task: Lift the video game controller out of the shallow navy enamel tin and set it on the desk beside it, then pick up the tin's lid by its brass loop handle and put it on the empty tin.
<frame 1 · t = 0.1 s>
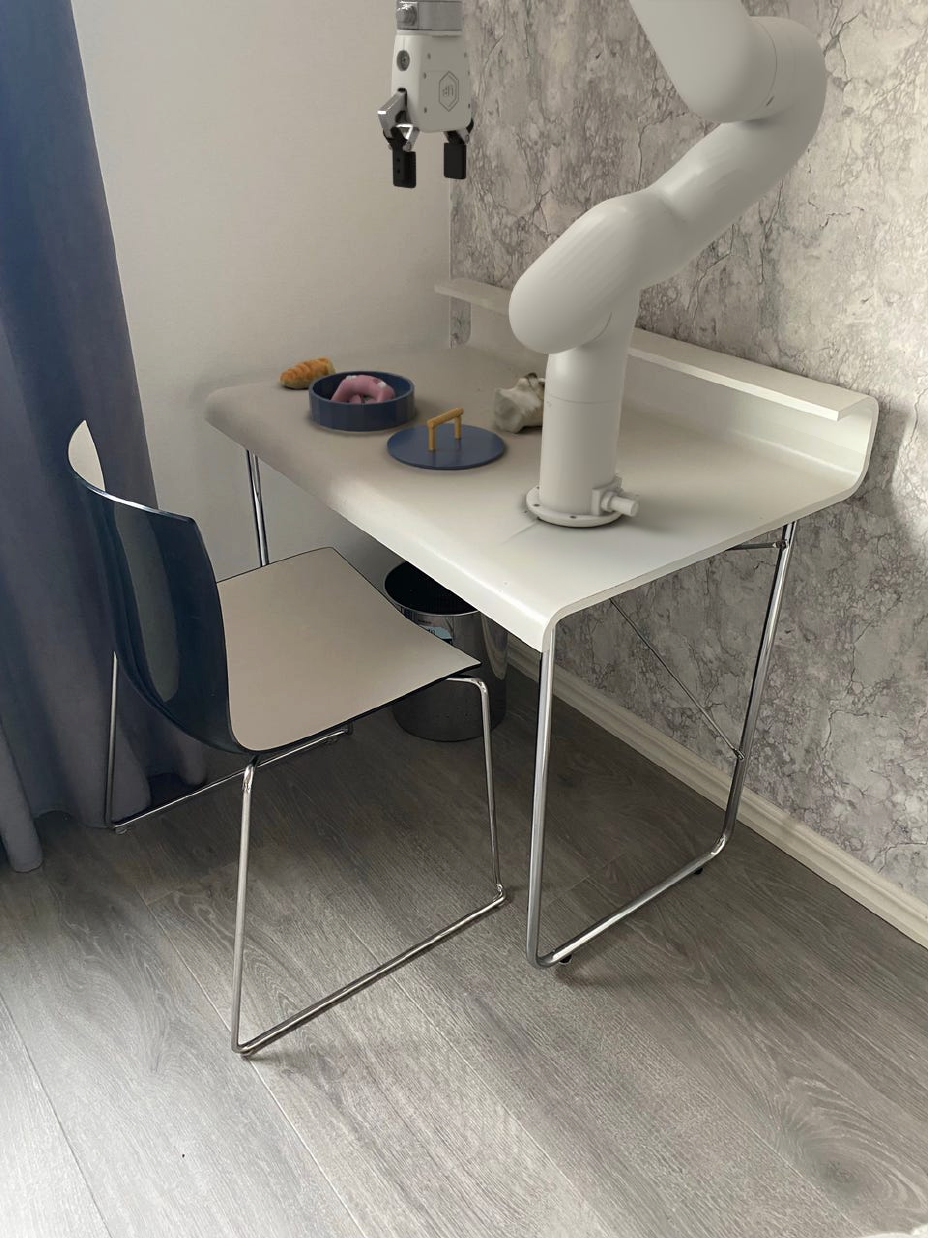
hand: (430, 182, 123), 37 cm above the table, tool pointing down, fingers open, 9 cm apart
tin: (362, 416, 157), on the table
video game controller: (362, 415, 157), resting on tin
pastry: (311, 383, 171), on the table
lid: (445, 446, 145), point 1 cm above the table
ceramic sculpture: (531, 427, 155), on the table
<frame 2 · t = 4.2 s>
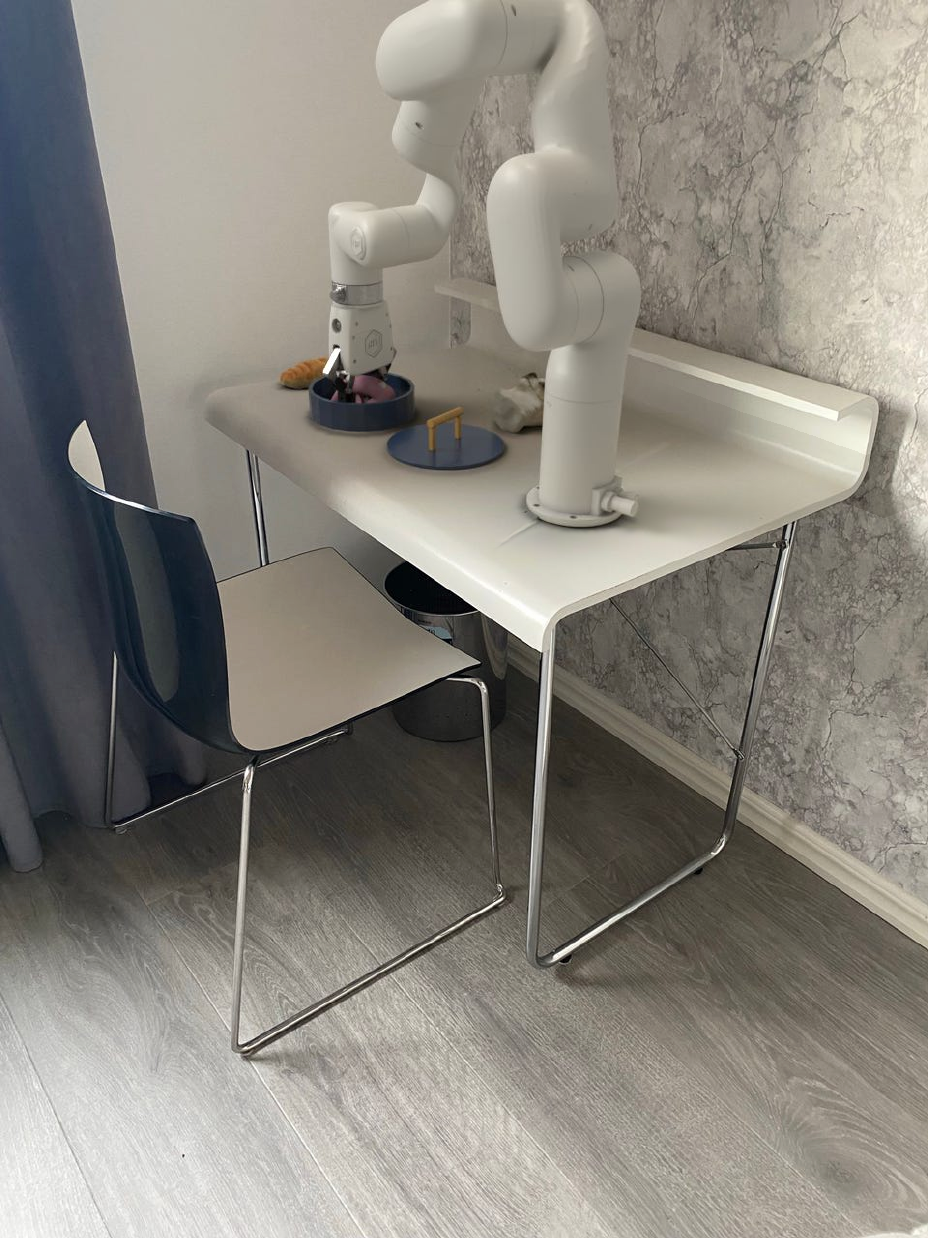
hand: (362, 408, 157), 1 cm above the table, tool pointing down, fingers closed on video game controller, 6 cm apart
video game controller: (362, 415, 157), resting on tin, touching gripper
everything else where it was.
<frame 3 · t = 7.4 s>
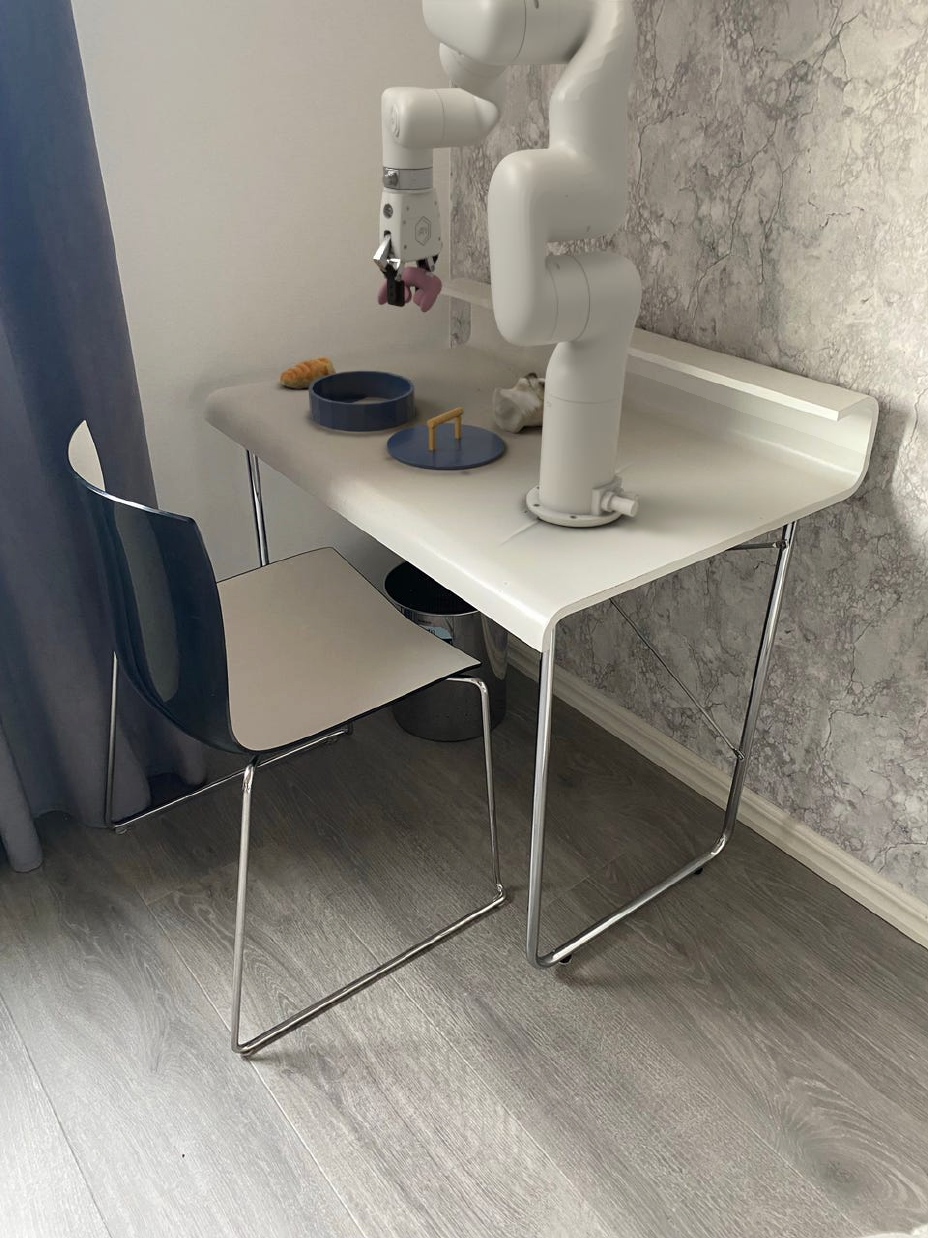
hand: (410, 300, 160), 15 cm above the table, tool pointing down, fingers closed on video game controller, 6 cm apart
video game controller: (410, 307, 160), point 14 cm above the table, touching gripper
everything else where it was.
when the fingers open (1 cm above the table, at t = 11.0 s): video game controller stays where it is, on the table.
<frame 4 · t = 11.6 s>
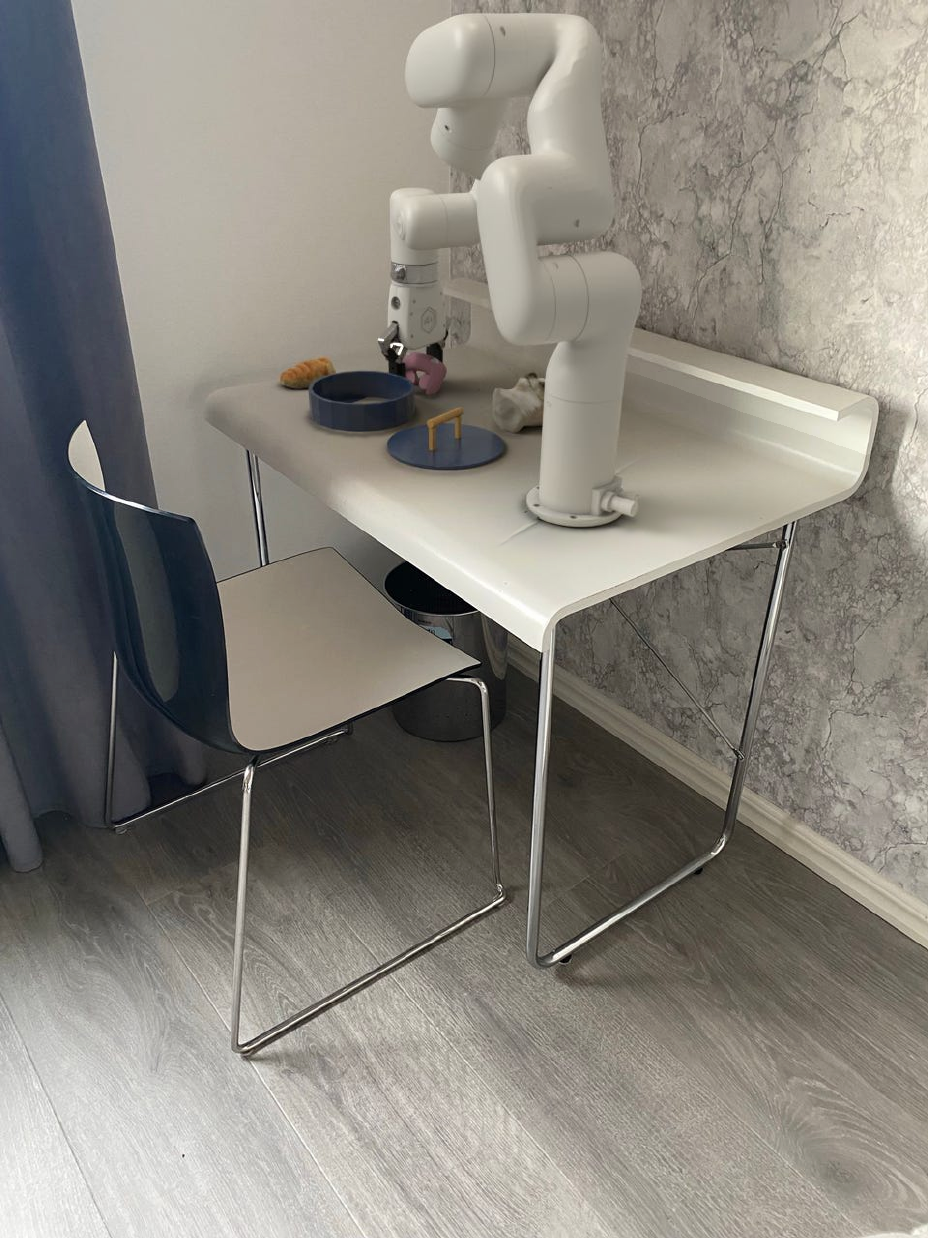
hand: (416, 377, 168), 2 cm above the table, tool pointing down, fingers open, 9 cm apart
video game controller: (416, 390, 169), on the table
everything else where it was.
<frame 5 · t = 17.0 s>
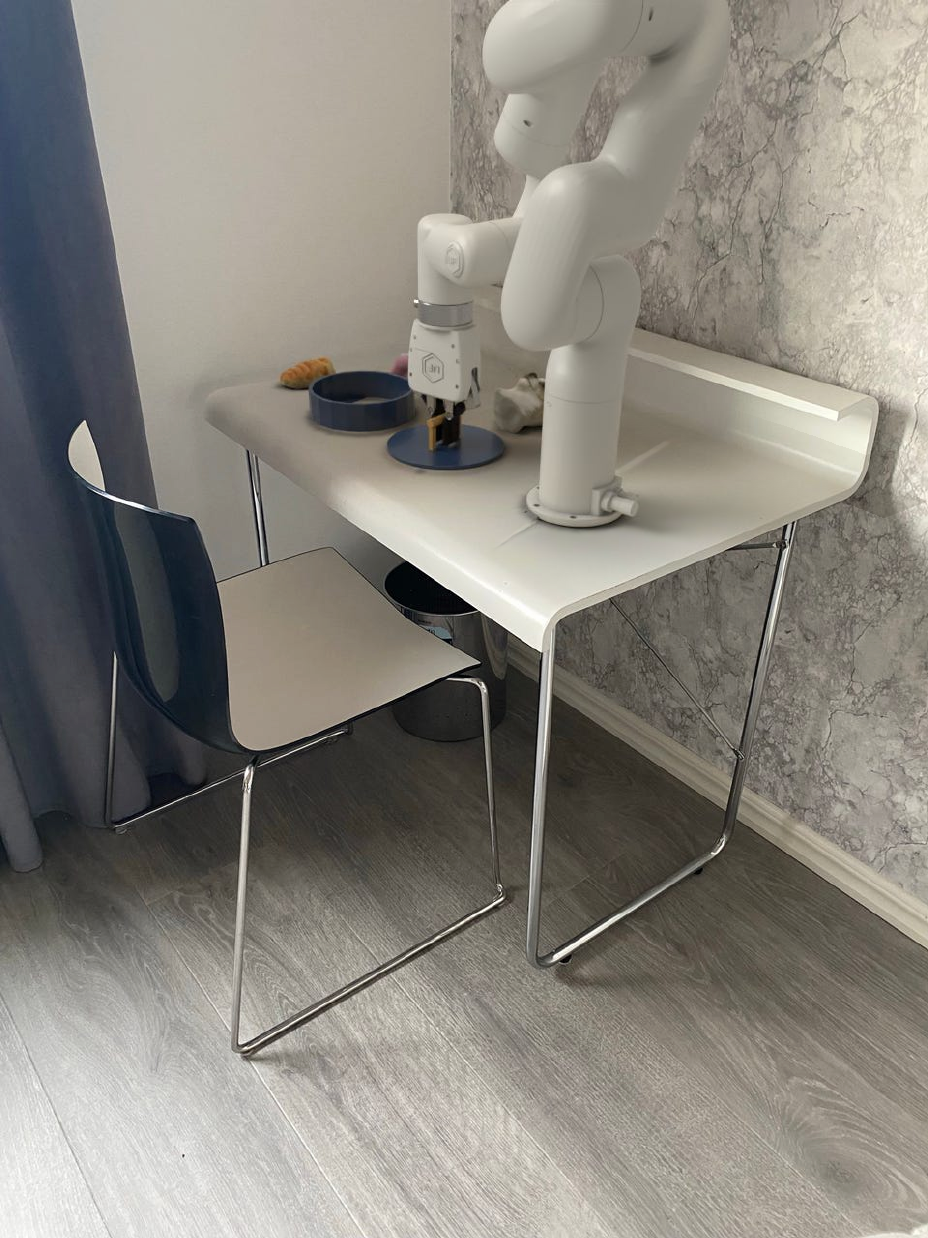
hand: (445, 440, 145), 2 cm above the table, tool pointing down, fingers closed on lid
lid: (445, 446, 145), point 1 cm above the table, touching gripper
everything else where it was.
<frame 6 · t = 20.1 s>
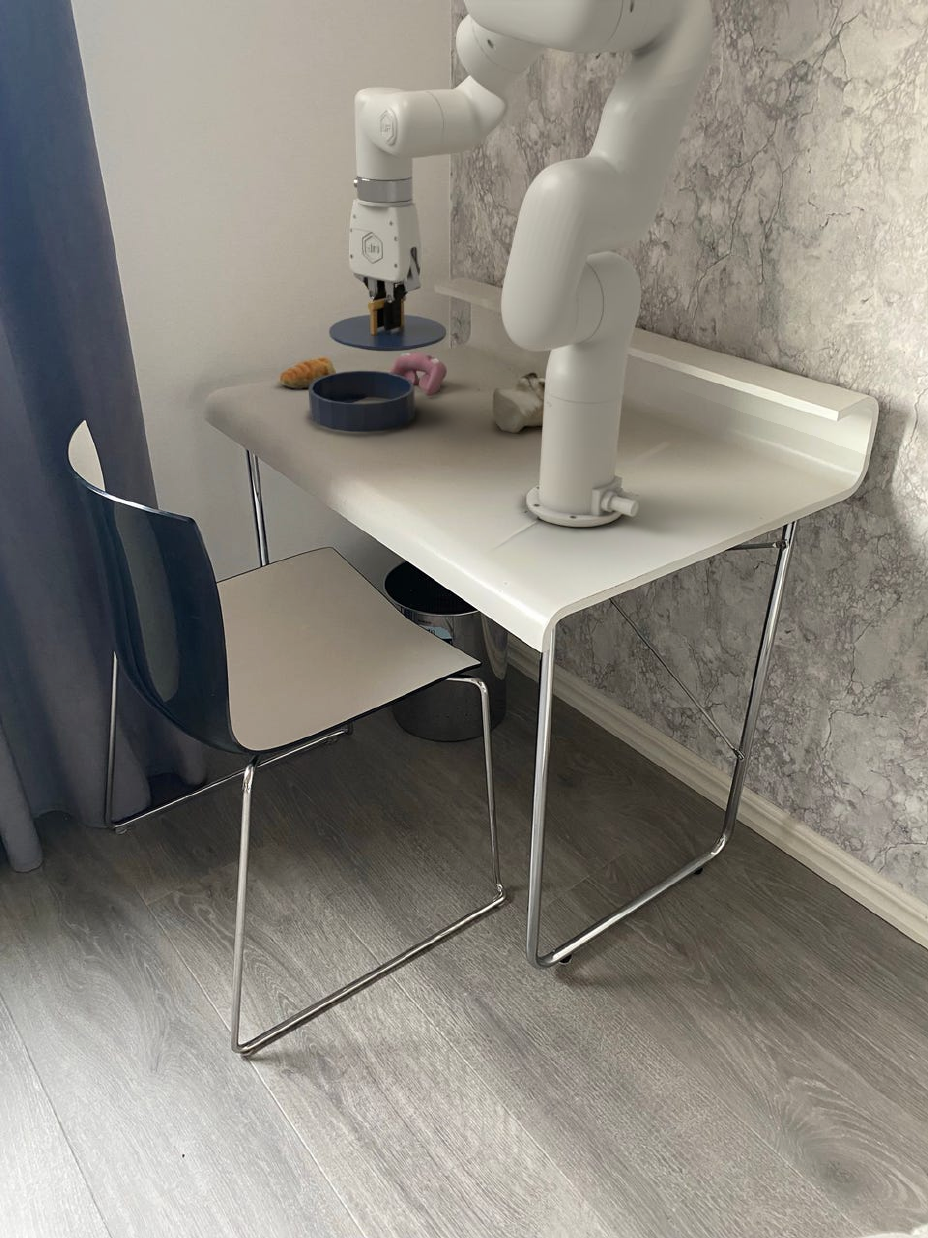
hand: (387, 326, 145), 16 cm above the table, tool pointing down, fingers closed on lid
lid: (387, 332, 146), point 15 cm above the table, touching gripper
everything else where it was.
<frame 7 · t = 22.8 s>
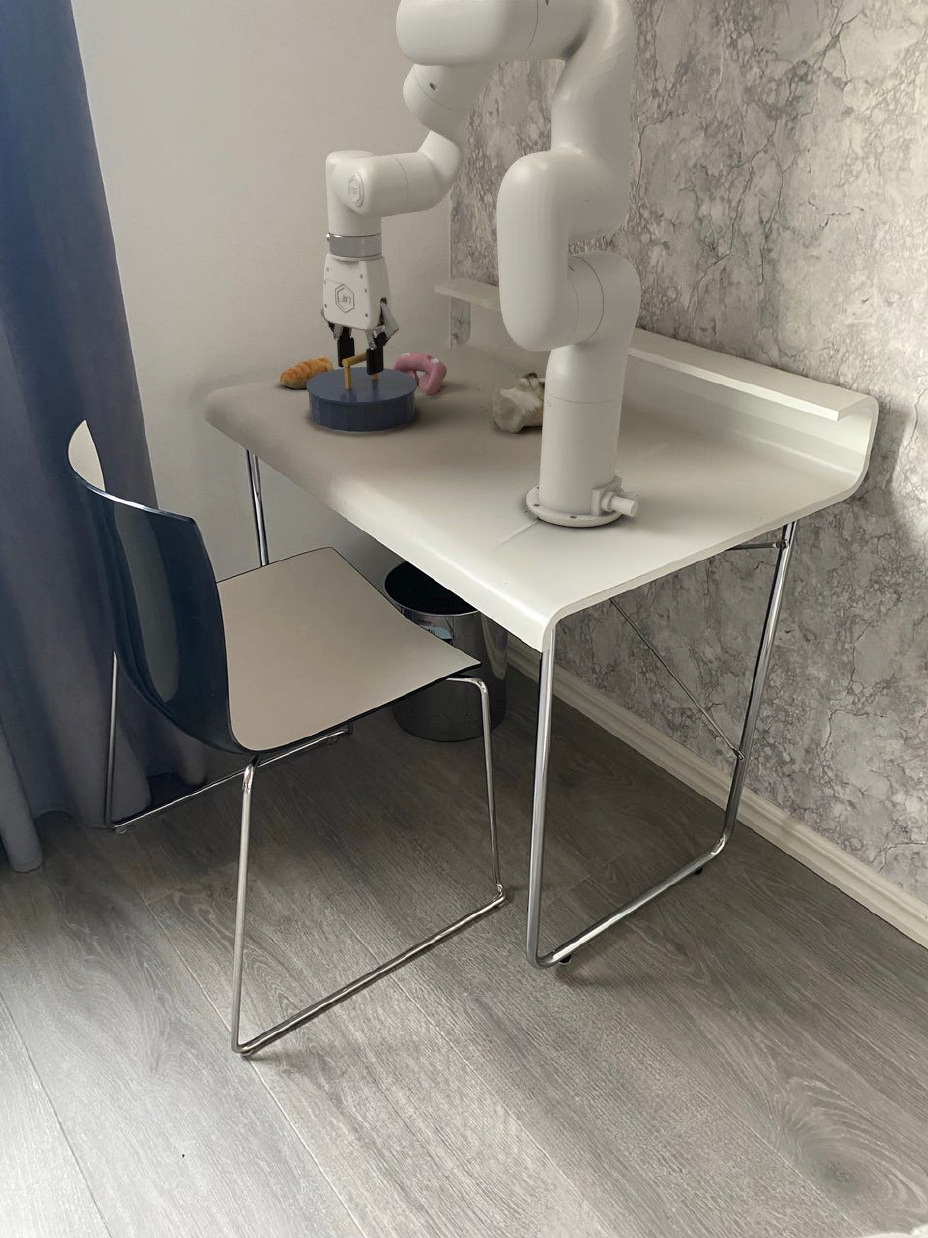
hand: (360, 367, 153), 8 cm above the table, tool pointing down, fingers open, 5 cm apart
lid: (362, 386, 155), point 5 cm above the table, touching tin
everything else where it was.
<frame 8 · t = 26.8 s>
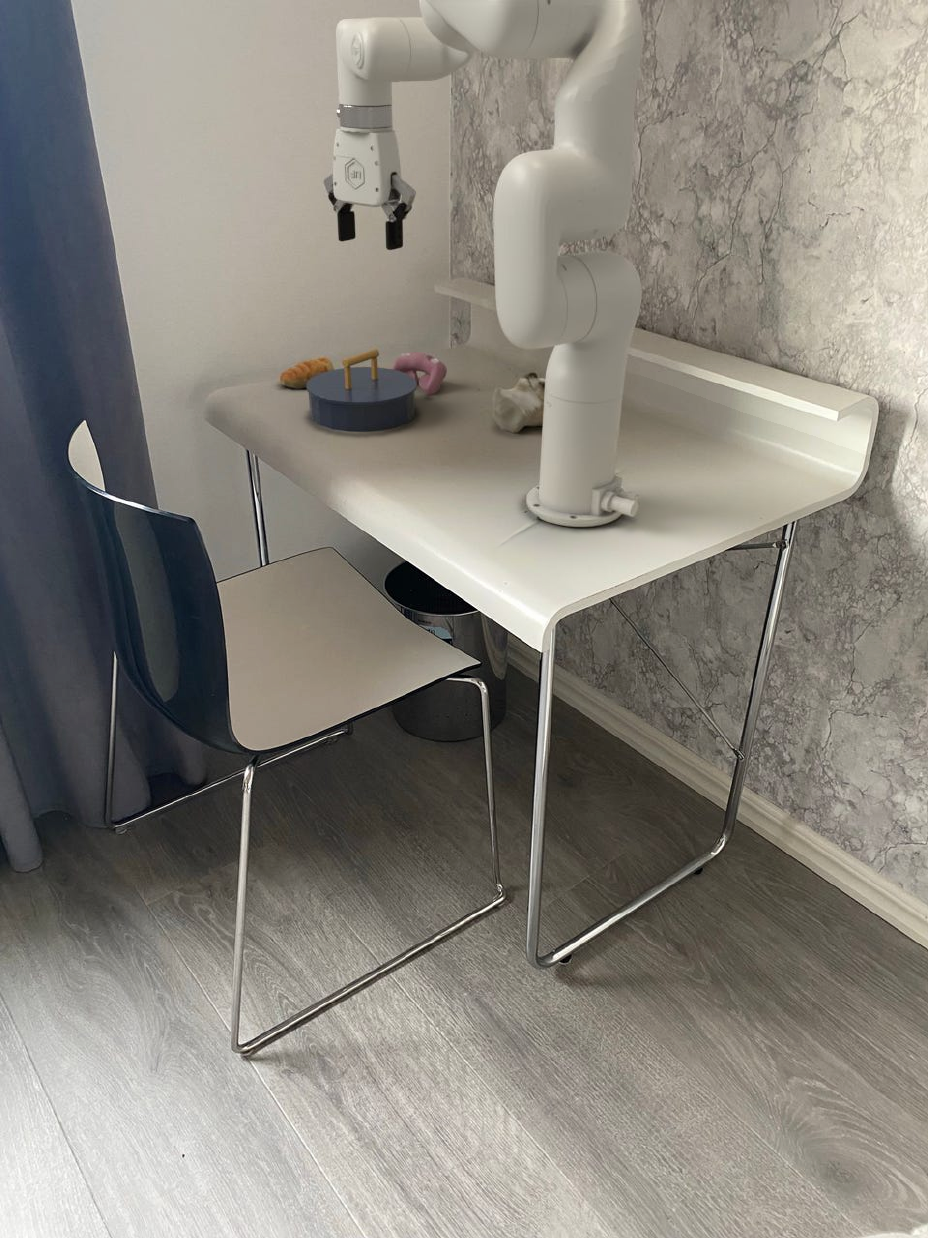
hand: (370, 244, 152), 24 cm above the table, tool pointing down, fingers open, 9 cm apart
nothing on the table moved.
at the end: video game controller inside the target area (0.0 cm from its centre), on the table; lid 0.1 cm off-centre on the tin, point 4.8 cm above the tin's base; lid tilted 0° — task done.
